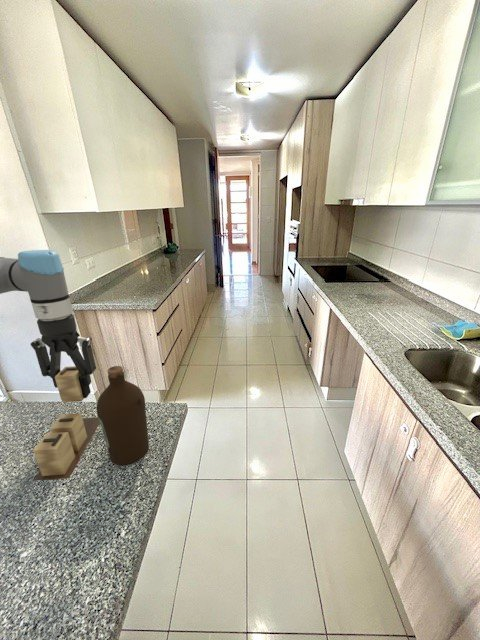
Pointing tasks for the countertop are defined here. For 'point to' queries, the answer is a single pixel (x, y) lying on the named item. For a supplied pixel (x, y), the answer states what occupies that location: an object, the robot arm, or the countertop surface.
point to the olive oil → (123, 419)
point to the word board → (90, 428)
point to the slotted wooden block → (69, 384)
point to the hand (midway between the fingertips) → (76, 395)
